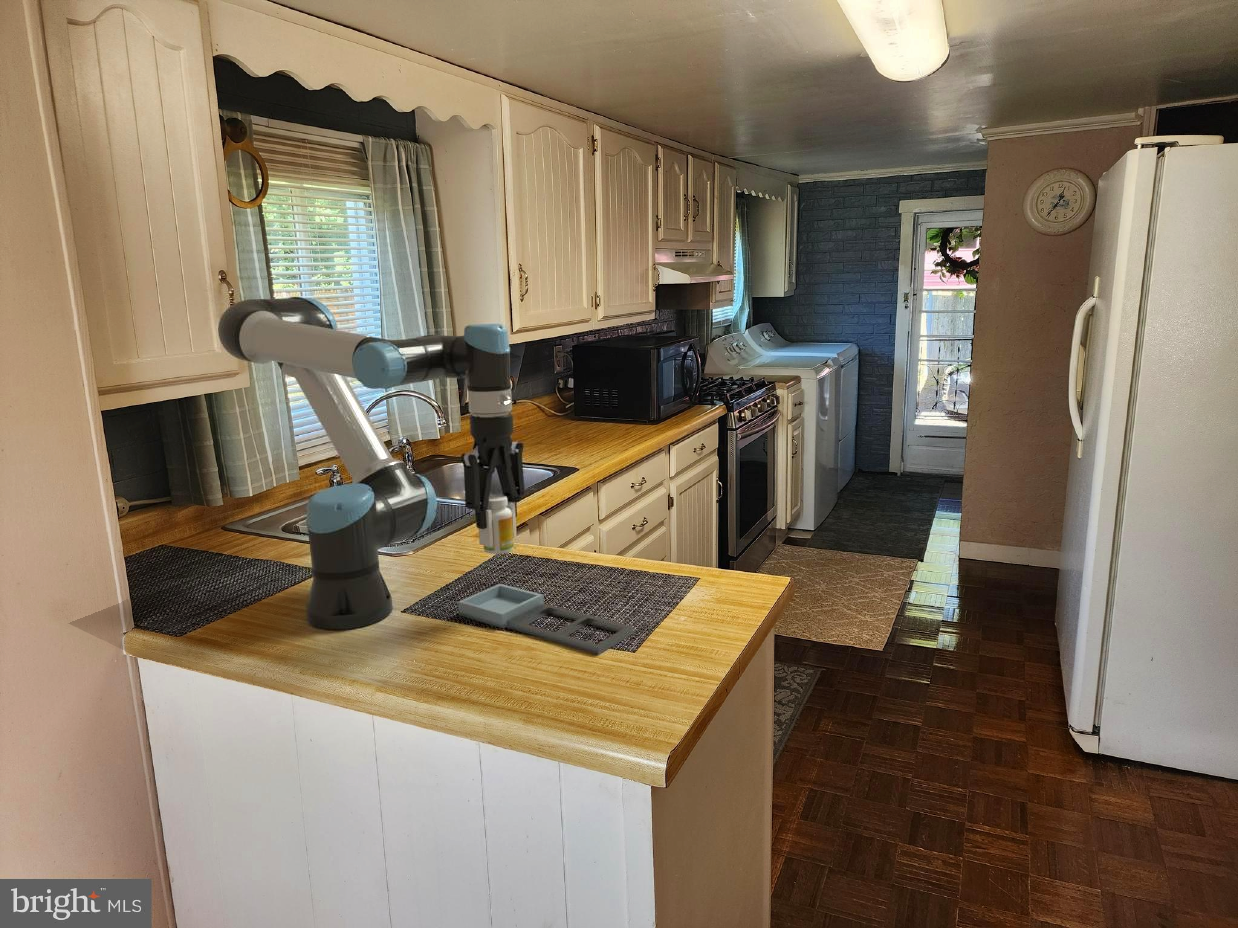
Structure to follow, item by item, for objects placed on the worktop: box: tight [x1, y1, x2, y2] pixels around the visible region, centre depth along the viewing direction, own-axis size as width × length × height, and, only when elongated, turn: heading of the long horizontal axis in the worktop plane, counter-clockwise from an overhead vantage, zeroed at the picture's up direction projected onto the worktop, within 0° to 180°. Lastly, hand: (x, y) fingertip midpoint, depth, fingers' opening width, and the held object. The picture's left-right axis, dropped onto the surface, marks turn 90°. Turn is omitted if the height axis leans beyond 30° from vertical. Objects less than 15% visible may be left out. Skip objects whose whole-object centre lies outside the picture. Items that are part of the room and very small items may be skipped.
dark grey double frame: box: [506, 603, 634, 655], centre depth 147 cm, size 10×20×1 cm, turn 55°
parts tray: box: [457, 583, 545, 629], centre depth 156 cm, size 11×11×3 cm
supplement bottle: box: [483, 495, 515, 555], centre depth 152 cm, size 5×5×10 cm
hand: (498, 540), depth 153 cm, fingers closed on supplement bottle, 5 cm apart
